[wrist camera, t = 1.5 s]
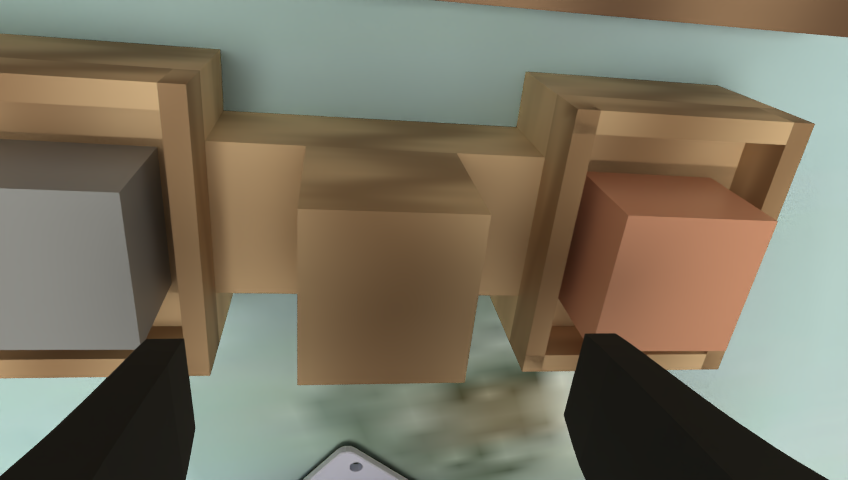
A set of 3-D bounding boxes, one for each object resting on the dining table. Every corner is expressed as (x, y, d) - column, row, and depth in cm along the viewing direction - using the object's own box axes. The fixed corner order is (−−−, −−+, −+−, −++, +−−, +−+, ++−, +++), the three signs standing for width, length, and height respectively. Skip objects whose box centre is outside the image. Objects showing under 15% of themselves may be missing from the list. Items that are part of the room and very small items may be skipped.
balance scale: (716, 84, 19) (894, 155, 13) (651, 293, 23) (768, 426, 17) (-34, 30, 16) (-269, 92, 10) (26, 287, 19) (-117, 452, 13)
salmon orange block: (710, 177, 17) (777, 221, 15) (671, 293, 19) (725, 351, 17) (581, 170, 17) (628, 215, 14) (554, 291, 19) (590, 351, 16)
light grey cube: (157, 146, 15) (119, 192, 12) (171, 283, 17) (140, 349, 14) (-20, 138, 14) (-100, 184, 12) (14, 281, 16) (-49, 350, 13)
